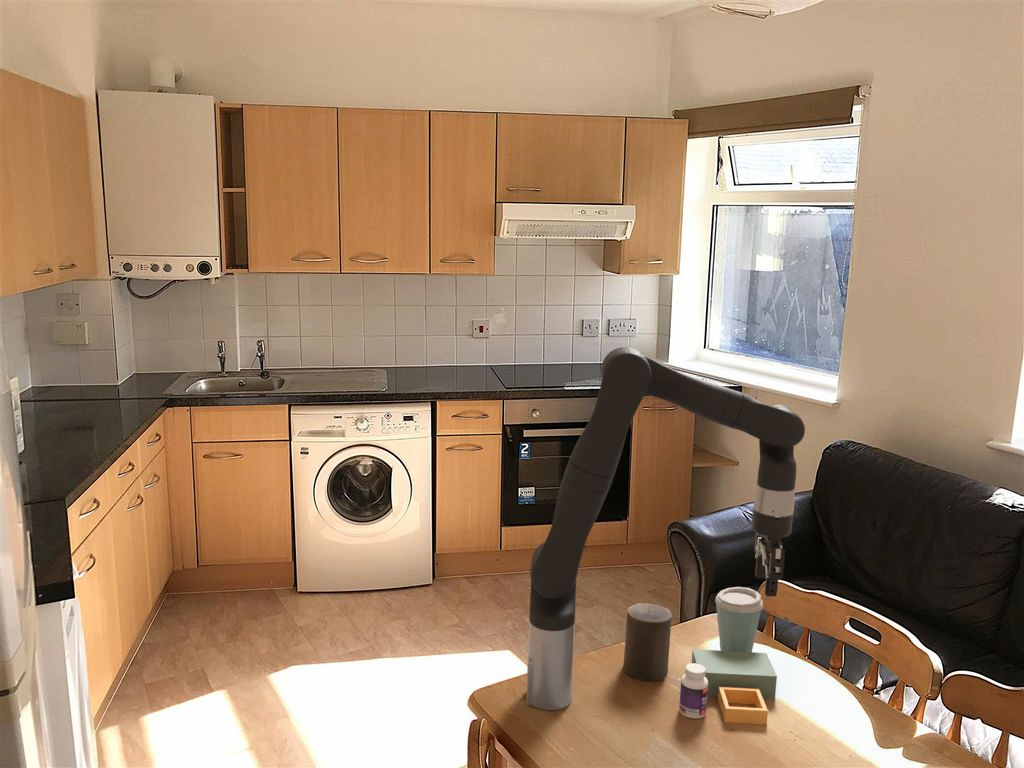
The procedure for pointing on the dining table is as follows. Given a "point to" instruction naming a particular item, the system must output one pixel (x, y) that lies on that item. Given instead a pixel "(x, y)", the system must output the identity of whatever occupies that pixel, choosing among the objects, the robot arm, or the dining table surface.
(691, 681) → the pill bottle
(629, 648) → the pillar candle
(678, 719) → the dining table surface
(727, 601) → the disposable coffee cup
